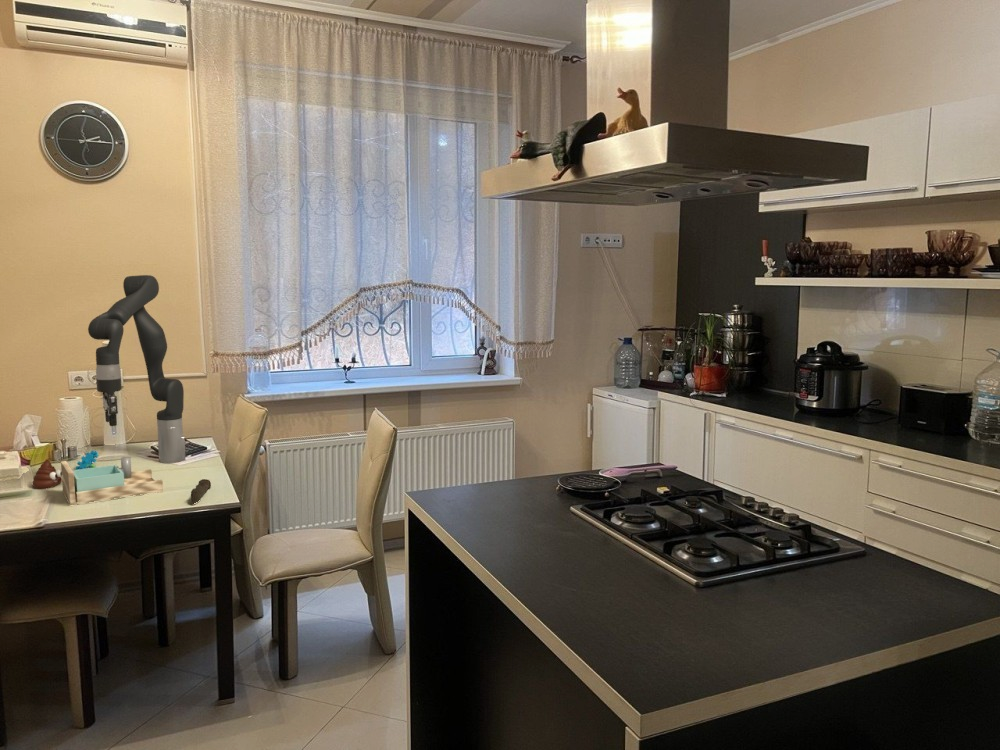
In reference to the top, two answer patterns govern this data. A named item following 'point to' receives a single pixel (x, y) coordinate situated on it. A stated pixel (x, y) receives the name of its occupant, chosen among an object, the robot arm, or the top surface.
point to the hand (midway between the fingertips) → (111, 423)
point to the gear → (87, 461)
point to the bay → (132, 486)
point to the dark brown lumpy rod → (200, 490)
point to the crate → (102, 476)
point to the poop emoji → (47, 476)
